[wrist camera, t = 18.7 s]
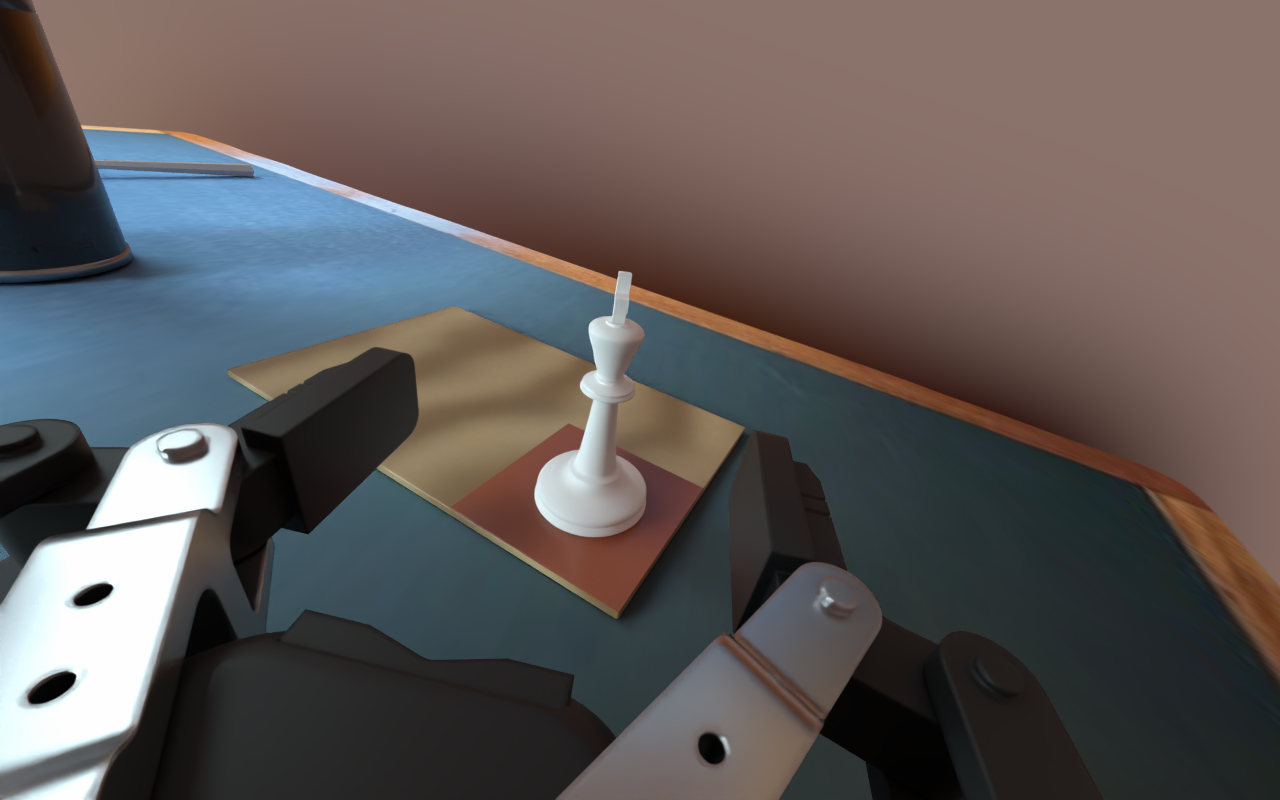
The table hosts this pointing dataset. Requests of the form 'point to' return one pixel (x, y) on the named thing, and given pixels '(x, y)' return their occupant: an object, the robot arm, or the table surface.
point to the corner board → (524, 442)
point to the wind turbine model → (178, 167)
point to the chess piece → (599, 439)
